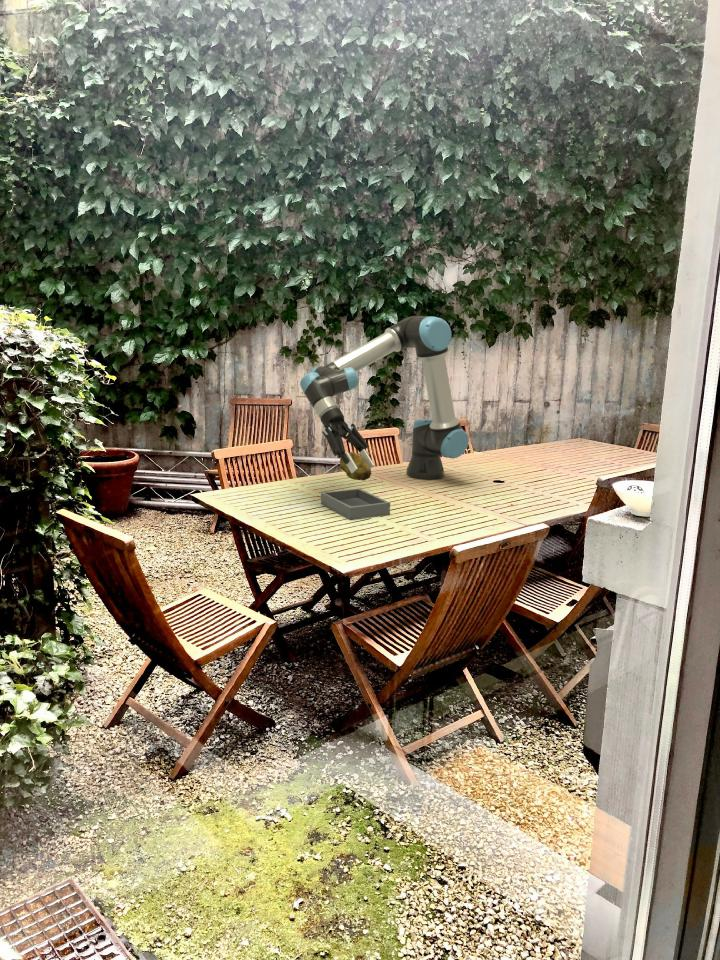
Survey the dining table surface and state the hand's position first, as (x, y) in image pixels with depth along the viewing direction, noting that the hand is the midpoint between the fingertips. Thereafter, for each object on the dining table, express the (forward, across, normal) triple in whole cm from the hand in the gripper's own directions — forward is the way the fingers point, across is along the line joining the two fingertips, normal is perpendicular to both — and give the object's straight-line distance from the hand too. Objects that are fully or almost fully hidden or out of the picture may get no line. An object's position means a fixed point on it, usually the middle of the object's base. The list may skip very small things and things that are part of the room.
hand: (363, 469), depth 229 cm
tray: (+8, 0, -12) cm, 15 cm away
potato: (0, 0, -5) cm, 5 cm away
